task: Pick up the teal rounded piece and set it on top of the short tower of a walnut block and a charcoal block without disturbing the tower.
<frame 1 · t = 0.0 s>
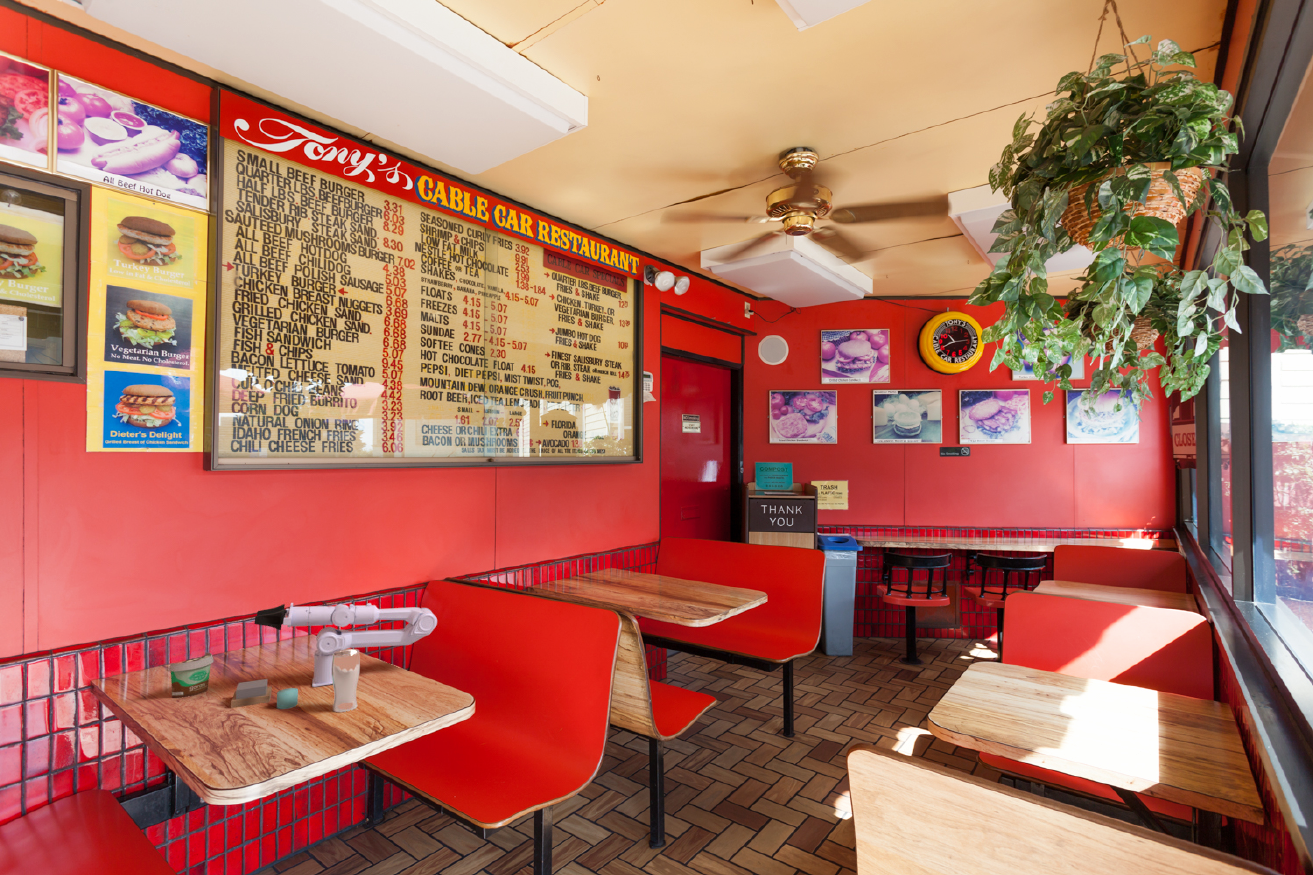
hand: (255, 617, 186), 22 cm above the table, tool horizontal, fingers open, 7 cm apart
teal rounded piece: (287, 705, 174), on the table
food container: (196, 693, 185), on the table
beer glass: (345, 708, 172), on the table
tower top: (252, 693, 179), point 2 cm above the table
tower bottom: (251, 702, 179), on the table
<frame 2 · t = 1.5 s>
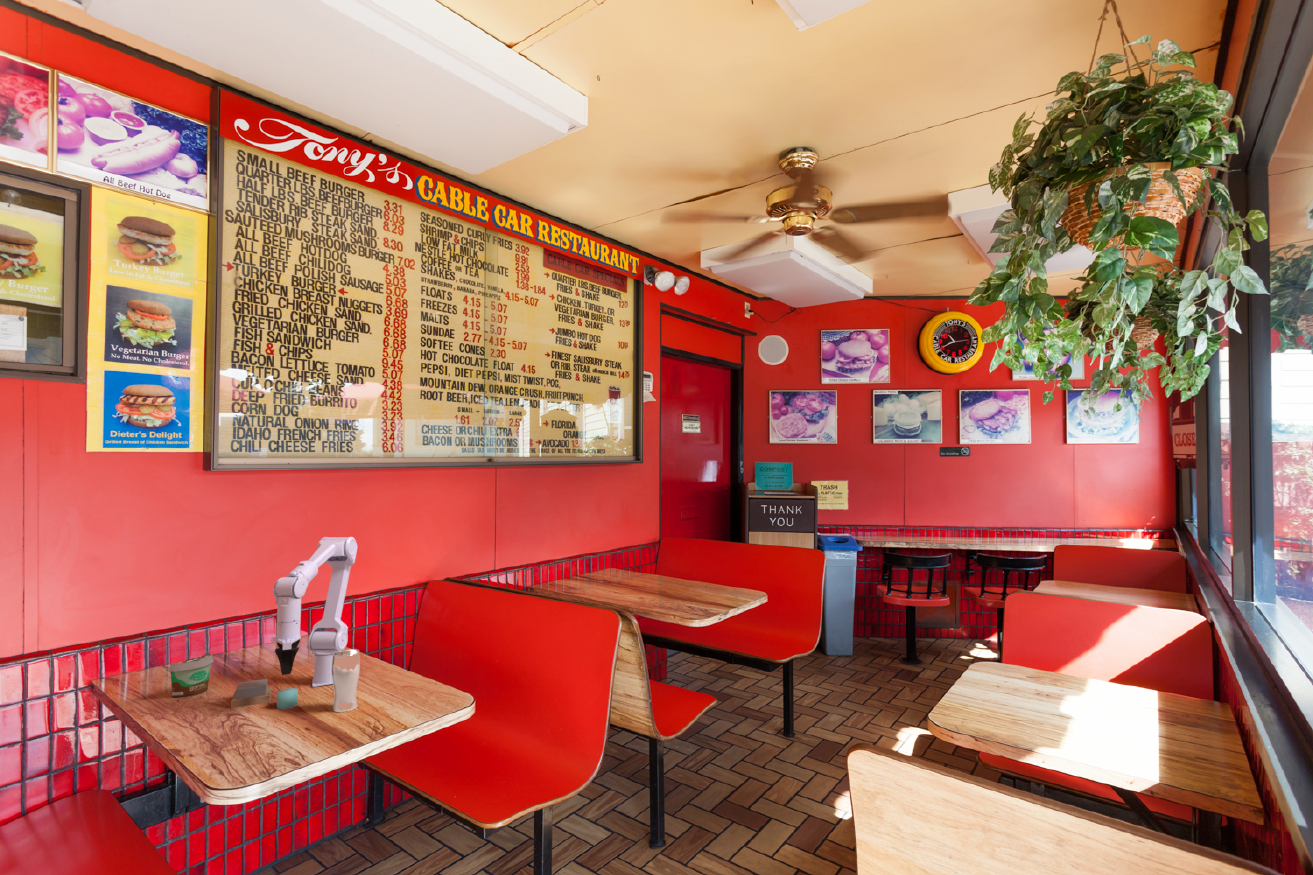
hand: (287, 670, 175), 10 cm above the table, tool pointing down, fingers open, 7 cm apart
tower top: (251, 693, 179), point 2 cm above the table, touching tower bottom
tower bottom: (251, 702, 179), on the table, touching tower top
everything else where it was.
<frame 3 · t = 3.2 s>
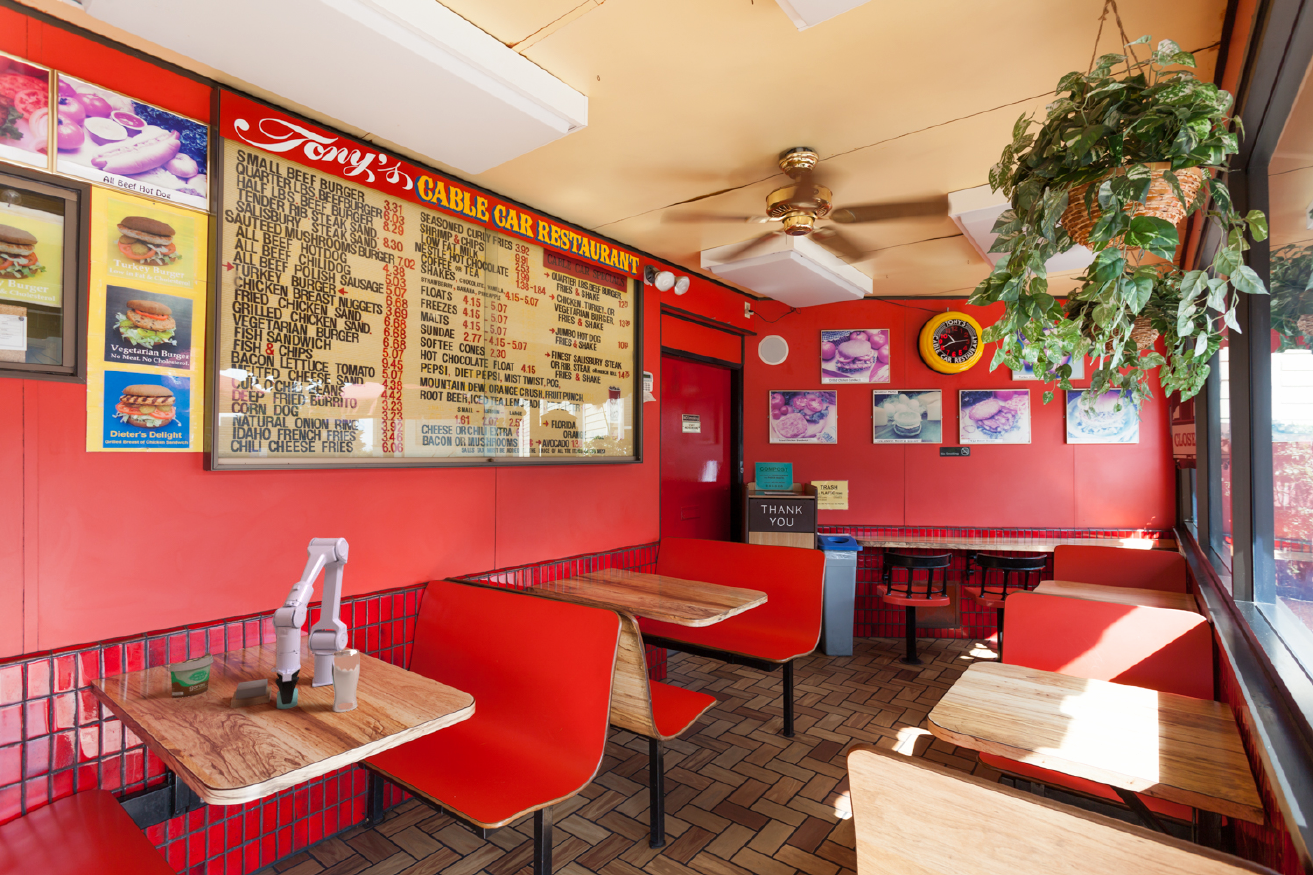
hand: (287, 700, 174), 1 cm above the table, tool pointing down, fingers closed on teal rounded piece, 5 cm apart
teal rounded piece: (287, 705, 174), on the table, touching gripper
everything else where it was.
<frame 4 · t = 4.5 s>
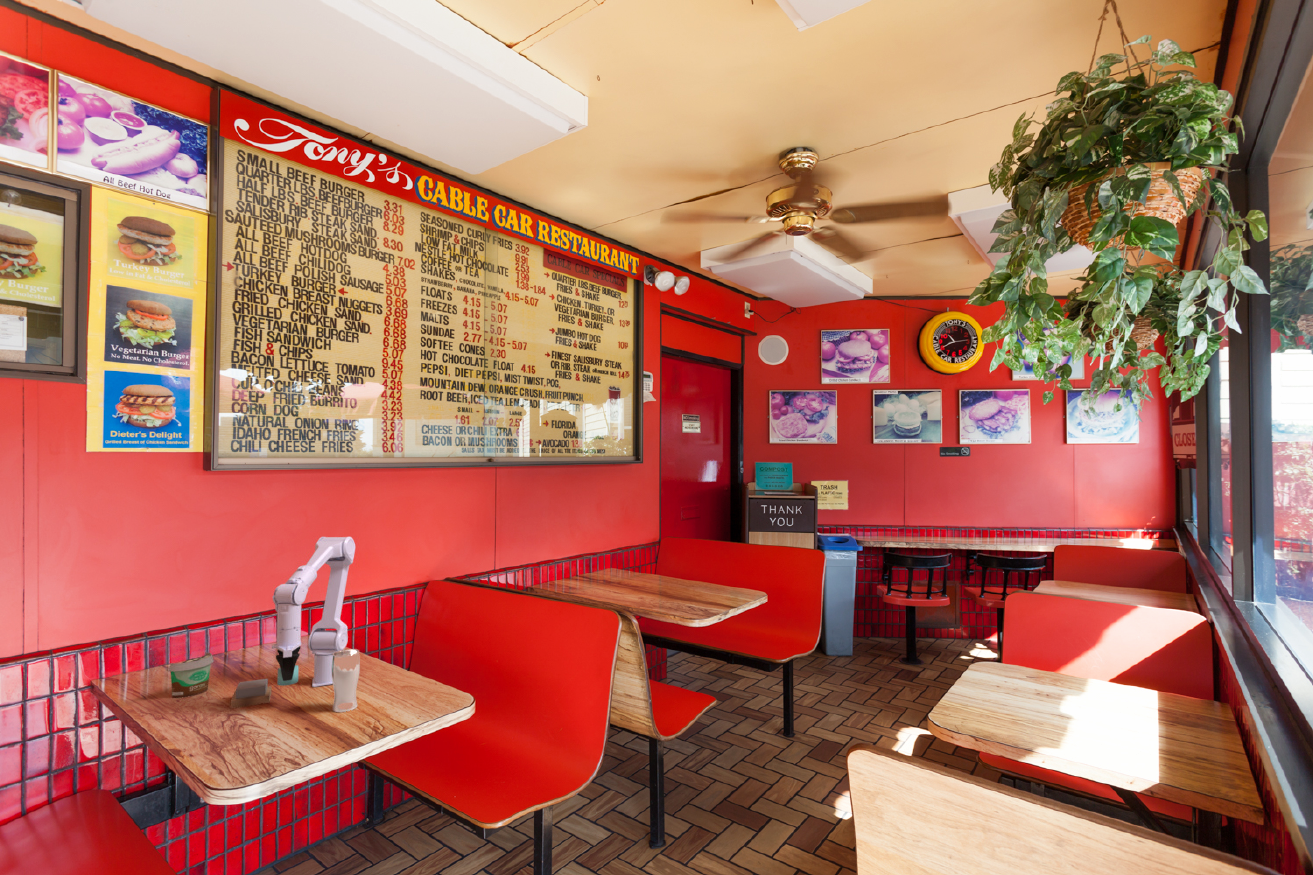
hand: (288, 677, 175), 8 cm above the table, tool pointing down, fingers closed on teal rounded piece, 5 cm apart
teal rounded piece: (287, 682, 174), point 6 cm above the table, touching gripper
everything else where it was.
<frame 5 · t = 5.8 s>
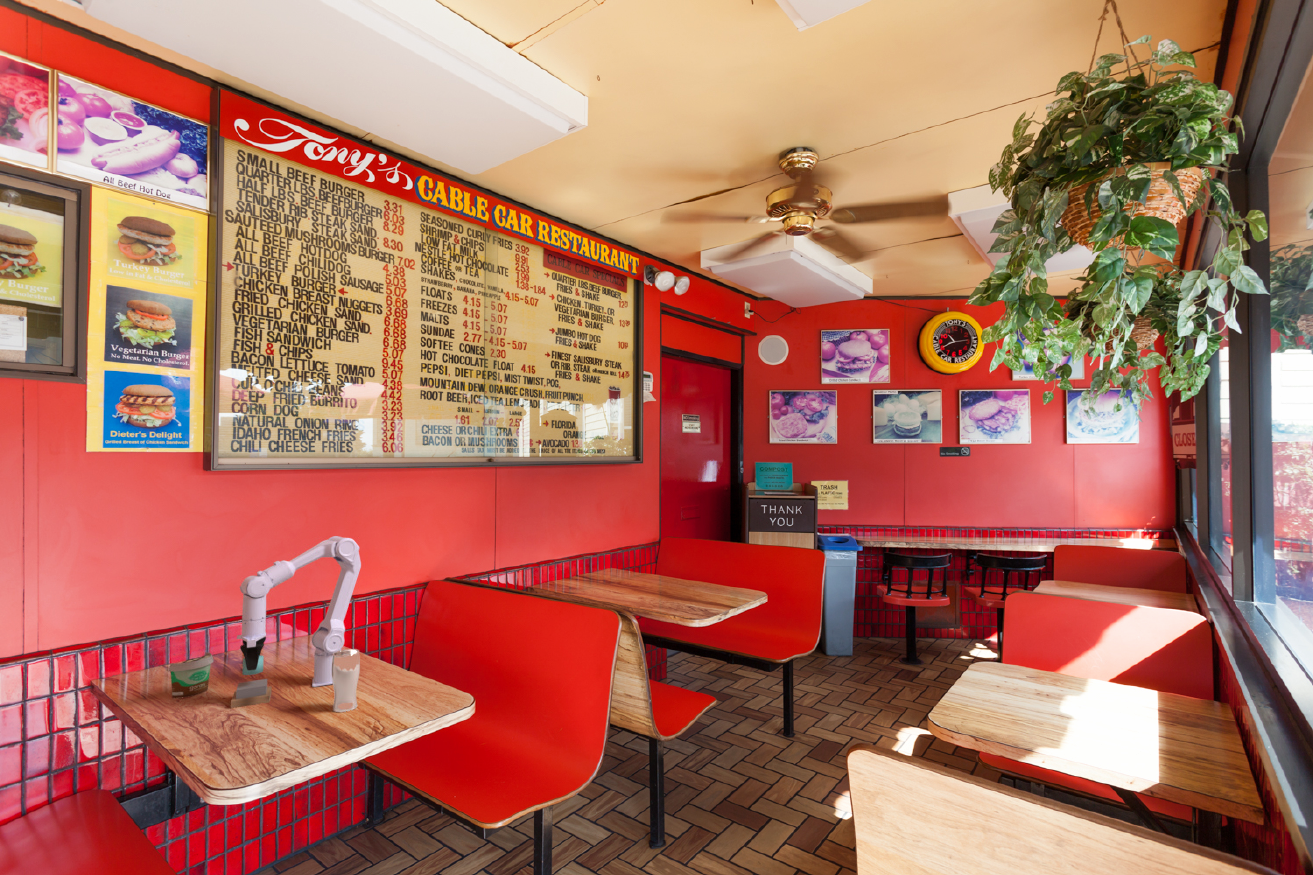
hand: (252, 666, 179), 9 cm above the table, tool pointing down, fingers closed on teal rounded piece, 5 cm apart
teal rounded piece: (252, 672, 179), point 8 cm above the table, touching gripper
everything else where it was.
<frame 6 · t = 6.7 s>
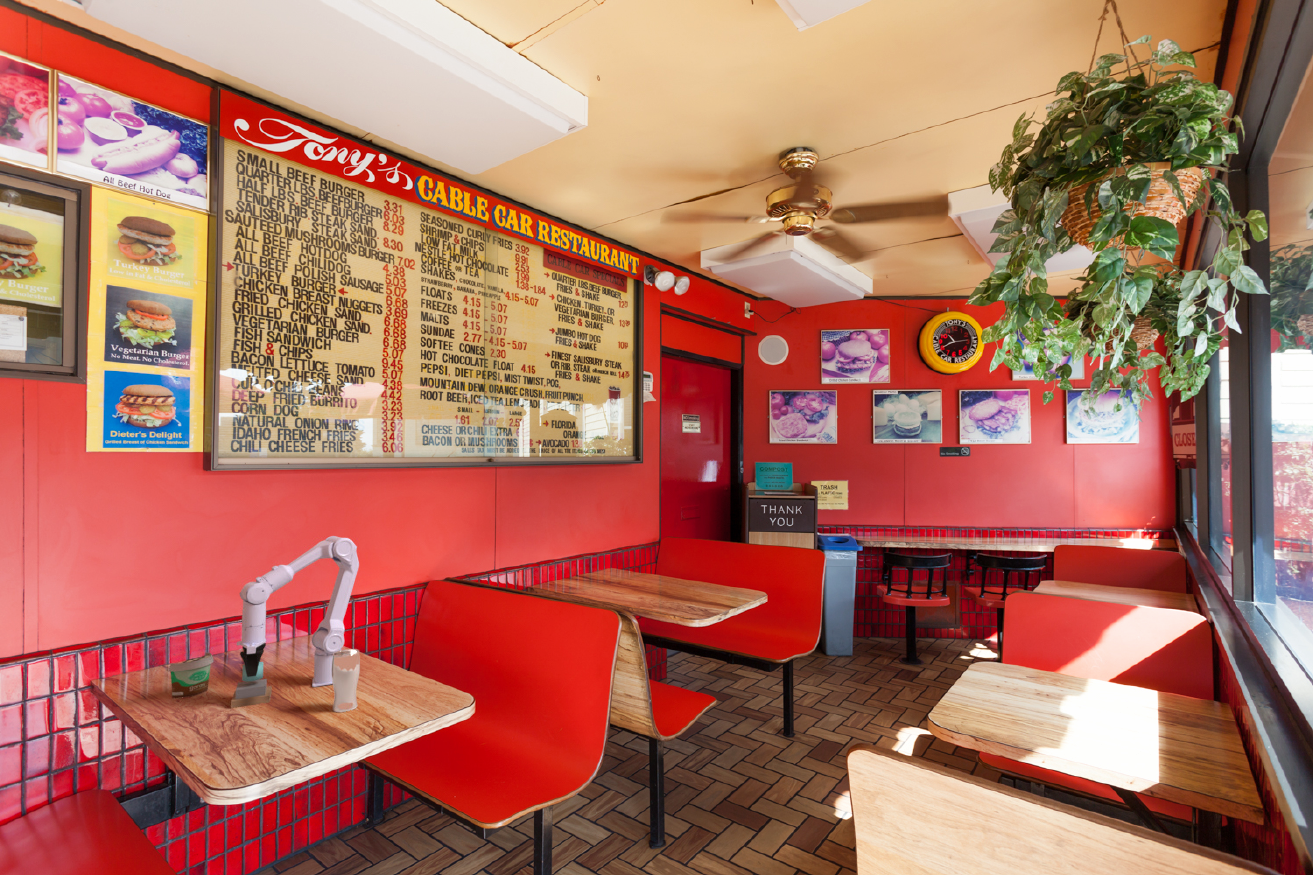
hand: (252, 673, 179), 7 cm above the table, tool pointing down, fingers closed on teal rounded piece, 5 cm apart
teal rounded piece: (252, 678, 179), point 6 cm above the table, touching gripper
everything else where it was.
when the fingers open (7 cm above the table, at t = 7.0 s): teal rounded piece drops 2 cm, resting on tower top.
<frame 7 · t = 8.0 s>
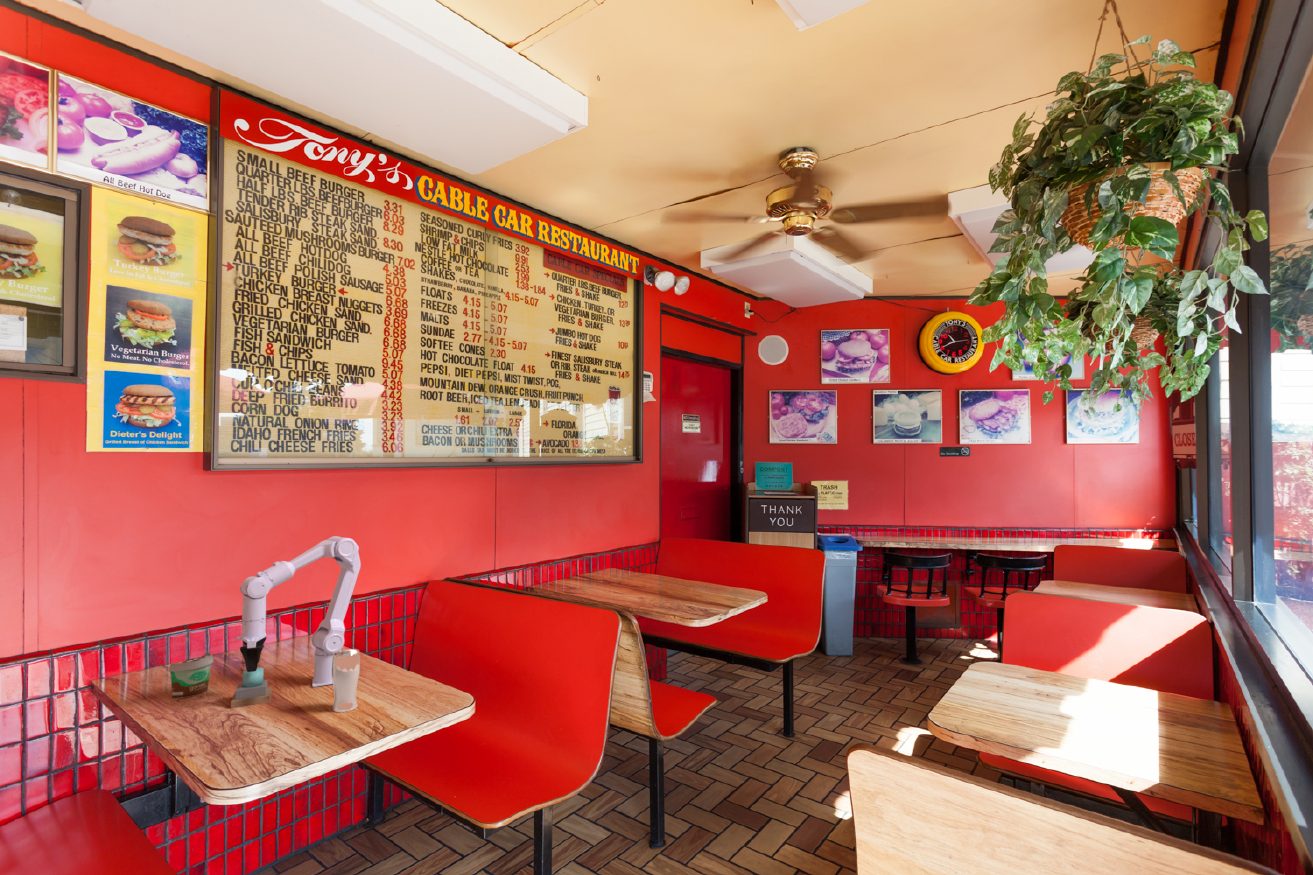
hand: (253, 667, 179), 9 cm above the table, tool pointing down, fingers open, 7 cm apart
teal rounded piece: (252, 684, 179), point 4 cm above the table, touching tower top
tower top: (251, 693, 178), point 2 cm above the table, touching teal rounded piece, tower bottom
everything else where it was.
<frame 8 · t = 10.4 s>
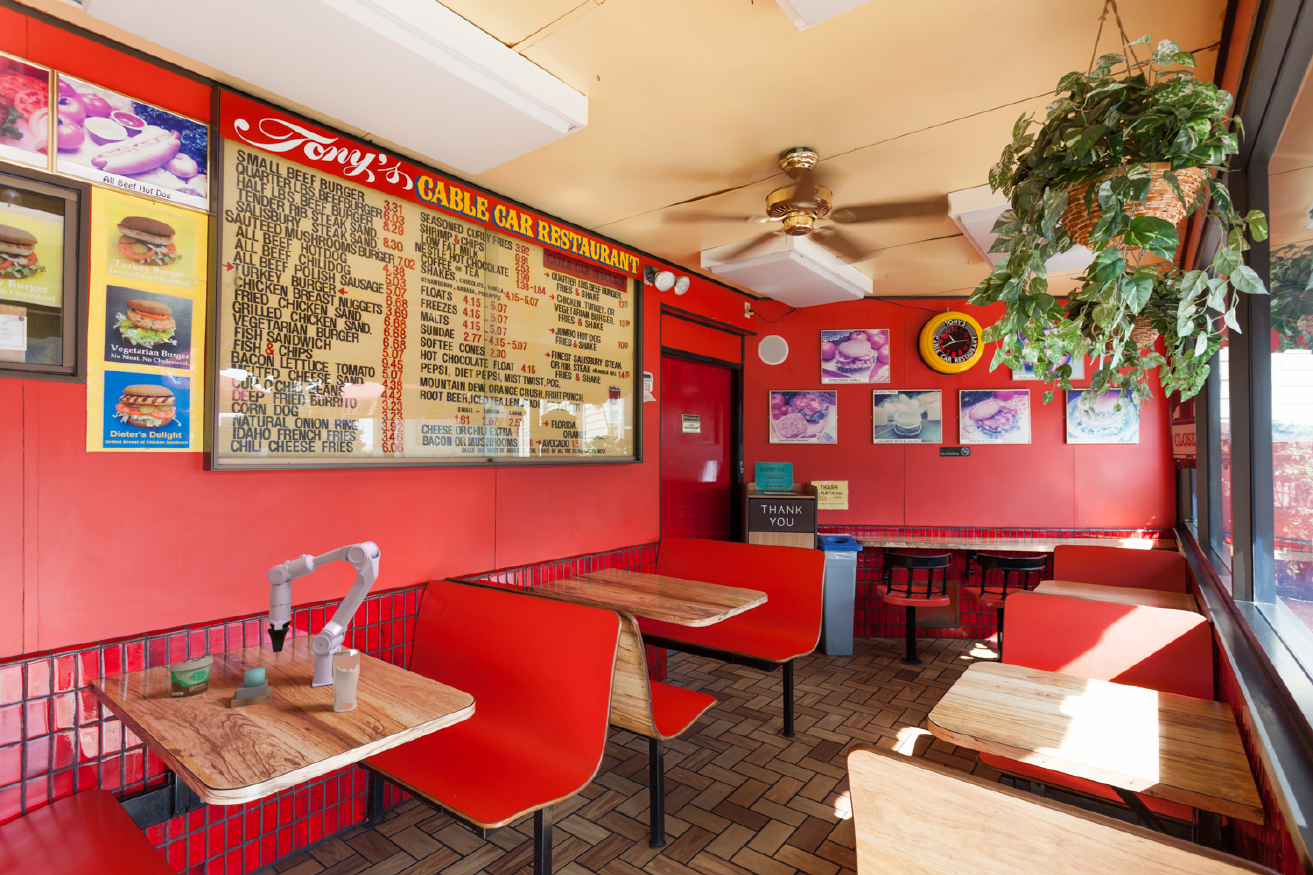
hand: (278, 648, 193), 10 cm above the table, tool pointing down, fingers open, 7 cm apart
nothing on the table moved.
at the end: teal rounded piece 0.4 cm off-centre on the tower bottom, point 5.0 cm above the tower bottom's base; tower top 0.1 cm off-centre on the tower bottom, point 2.5 cm above the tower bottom's base; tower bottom moved 0.7 cm from its start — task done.
